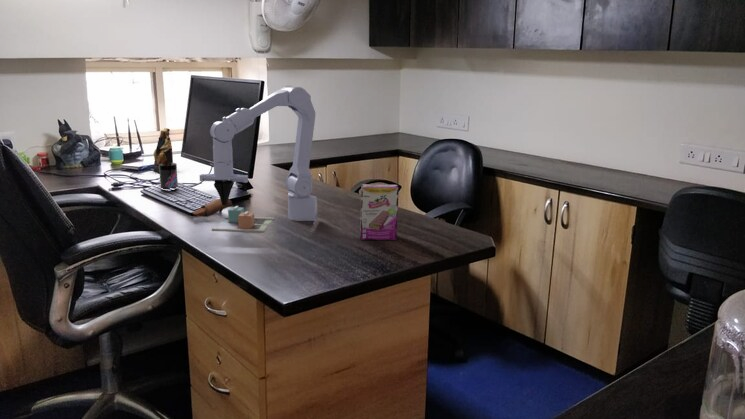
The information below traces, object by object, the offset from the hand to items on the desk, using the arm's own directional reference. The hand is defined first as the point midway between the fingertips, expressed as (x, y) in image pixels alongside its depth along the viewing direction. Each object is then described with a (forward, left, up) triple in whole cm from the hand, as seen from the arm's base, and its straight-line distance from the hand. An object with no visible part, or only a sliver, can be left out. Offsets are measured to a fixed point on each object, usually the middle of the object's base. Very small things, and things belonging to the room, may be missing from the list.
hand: (225, 204), depth 191 cm
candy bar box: (-48, +3, -9) cm, 49 cm away
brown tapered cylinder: (+12, -21, -9) cm, 25 cm away
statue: (+55, -91, -9) cm, 106 cm away
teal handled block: (-2, -7, -7) cm, 10 cm away
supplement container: (+39, -55, -9) cm, 68 cm away
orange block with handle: (-7, 0, -7) cm, 10 cm away
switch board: (-5, -3, -8) cm, 10 cm away
